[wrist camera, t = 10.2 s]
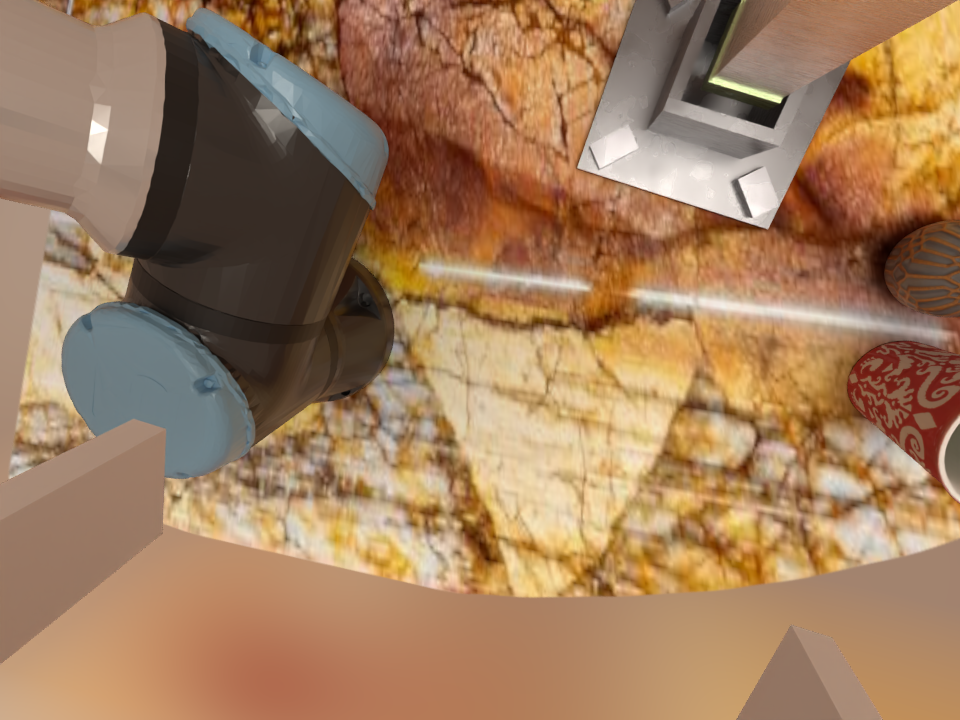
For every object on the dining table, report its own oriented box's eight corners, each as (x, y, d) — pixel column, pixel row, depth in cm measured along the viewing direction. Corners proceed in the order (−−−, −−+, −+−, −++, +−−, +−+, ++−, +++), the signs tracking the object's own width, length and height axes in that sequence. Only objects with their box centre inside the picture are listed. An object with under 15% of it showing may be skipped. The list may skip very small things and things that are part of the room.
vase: (991, 246, 38) (1105, 255, 30) (923, 322, 41) (1012, 350, 32) (911, 202, 39) (1003, 199, 30) (848, 280, 41) (918, 298, 33)
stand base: (577, 168, 42) (577, 157, 33) (654, -52, 37) (679, -137, 28) (763, 228, 41) (815, 233, 32) (870, 8, 36) (968, -60, 27)
